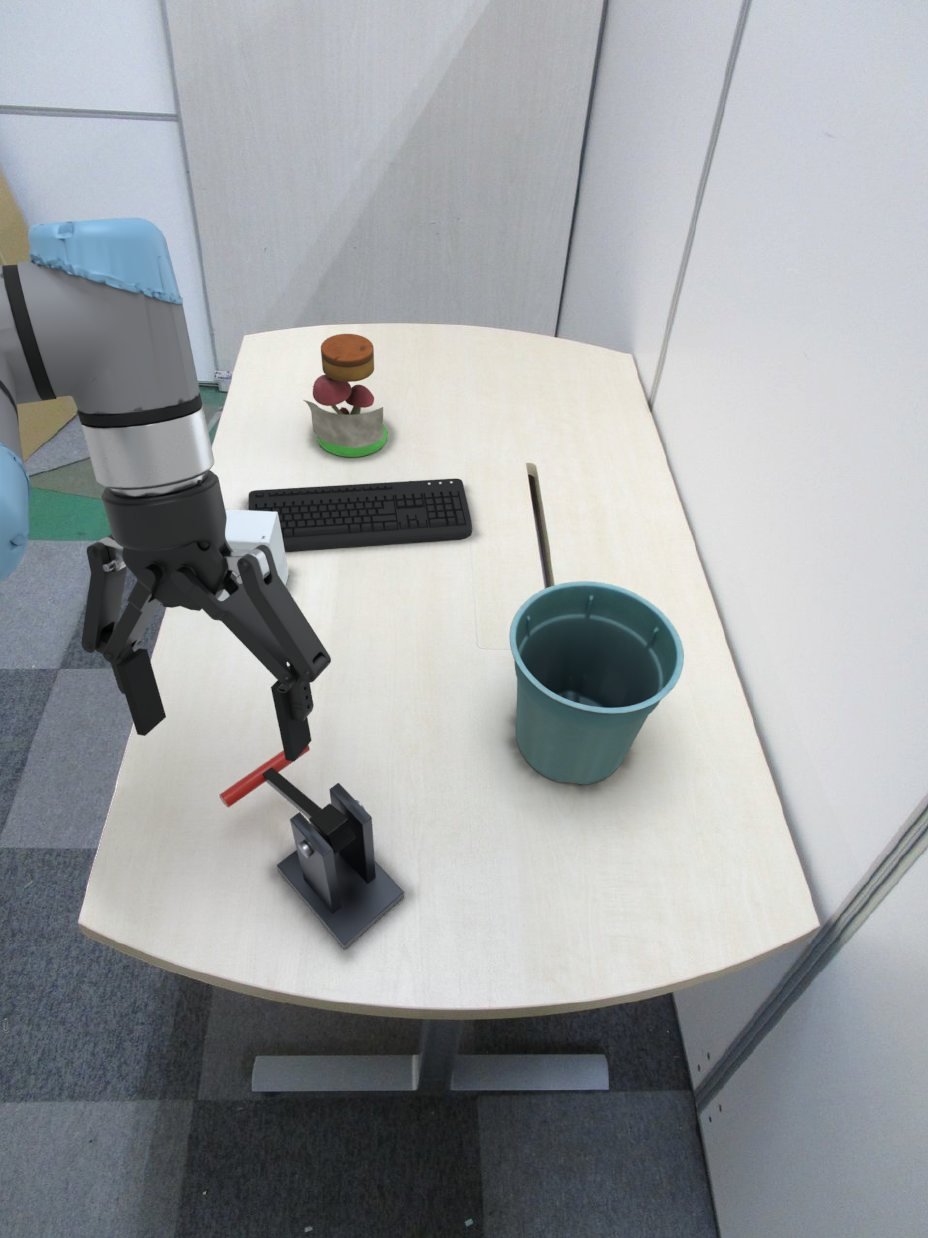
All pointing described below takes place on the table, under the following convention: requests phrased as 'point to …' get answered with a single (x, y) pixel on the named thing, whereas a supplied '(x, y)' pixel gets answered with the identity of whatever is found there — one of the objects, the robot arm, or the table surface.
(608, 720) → the flower pot
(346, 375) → the multicoloured stacked piece
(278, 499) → the keyboard
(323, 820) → the lever
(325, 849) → the bracket
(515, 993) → the table surface
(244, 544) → the small box
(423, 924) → the table surface
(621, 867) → the table surface
